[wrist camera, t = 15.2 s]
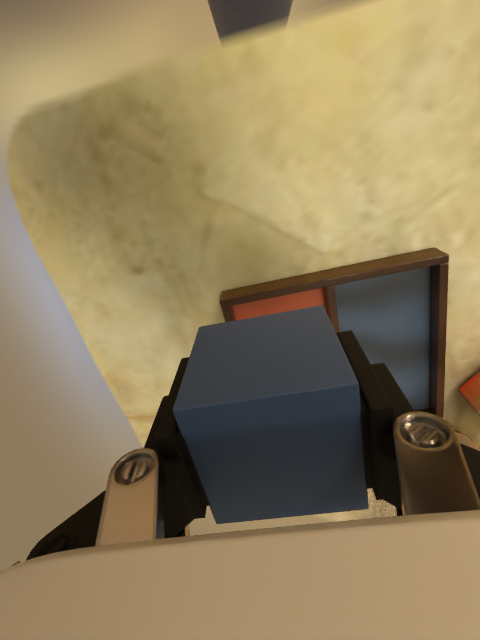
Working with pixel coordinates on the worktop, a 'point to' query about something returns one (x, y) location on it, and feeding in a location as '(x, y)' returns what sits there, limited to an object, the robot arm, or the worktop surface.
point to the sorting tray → (373, 314)
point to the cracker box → (472, 391)
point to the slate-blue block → (273, 418)
